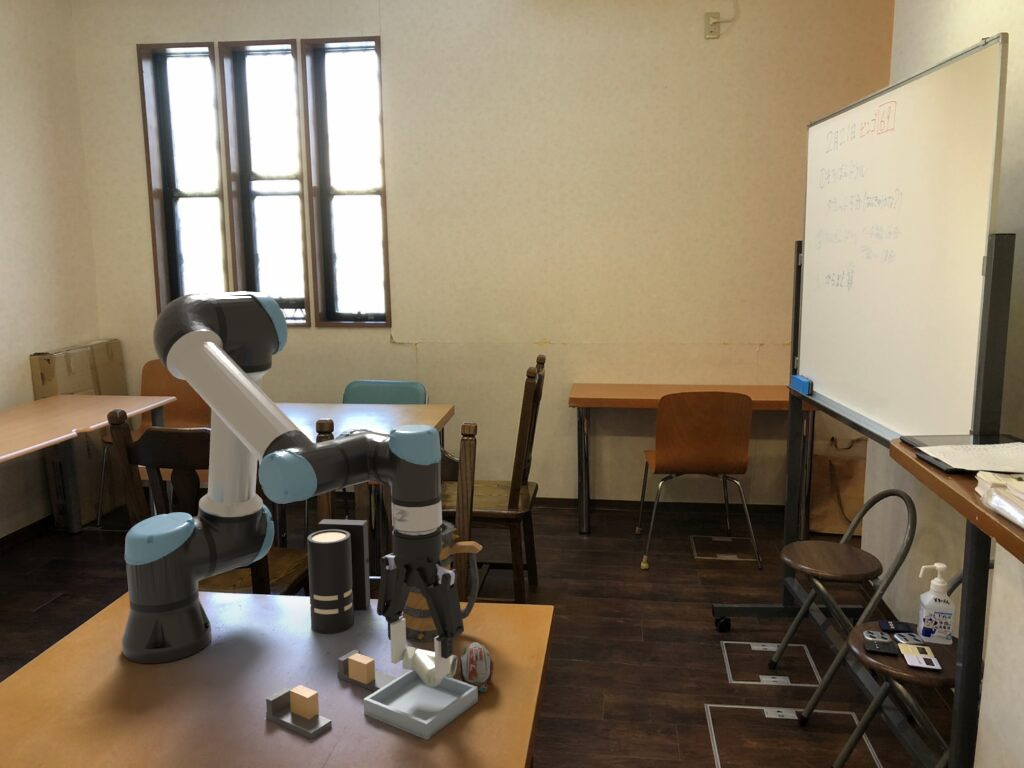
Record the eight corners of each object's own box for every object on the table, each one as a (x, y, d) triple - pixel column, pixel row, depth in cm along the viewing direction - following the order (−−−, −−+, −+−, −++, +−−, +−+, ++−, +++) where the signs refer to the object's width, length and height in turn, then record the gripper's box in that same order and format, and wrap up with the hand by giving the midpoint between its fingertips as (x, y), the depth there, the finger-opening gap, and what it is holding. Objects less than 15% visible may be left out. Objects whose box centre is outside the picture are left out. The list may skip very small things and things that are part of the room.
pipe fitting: (441, 694, 125) (457, 672, 131) (442, 671, 124) (457, 650, 131) (393, 684, 127) (411, 663, 134) (393, 661, 126) (411, 641, 133)
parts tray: (364, 714, 127) (363, 699, 127) (417, 679, 138) (416, 665, 137) (426, 739, 120) (426, 724, 120) (477, 701, 131) (477, 686, 130)
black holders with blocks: (266, 718, 126) (264, 691, 126) (354, 667, 142) (353, 643, 141) (311, 739, 121) (310, 710, 120) (398, 683, 136) (397, 658, 136)
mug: (405, 612, 164) (402, 515, 161) (490, 618, 161) (489, 519, 158) (385, 642, 151) (381, 537, 148) (476, 648, 149) (475, 542, 145)
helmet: (458, 698, 134) (458, 671, 130) (457, 657, 141) (457, 631, 137) (494, 696, 135) (495, 670, 131) (491, 656, 141) (492, 629, 137)
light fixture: (300, 632, 155) (296, 542, 153) (325, 602, 169) (321, 519, 166) (350, 635, 154) (347, 544, 152) (371, 604, 168) (368, 520, 165)
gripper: (349, 522, 127) (354, 659, 131) (456, 547, 116) (459, 697, 119) (382, 509, 133) (386, 641, 137) (487, 533, 122) (489, 676, 125)
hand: (420, 667), depth 128 cm, fingers closed on pipe fitting, 8 cm apart
